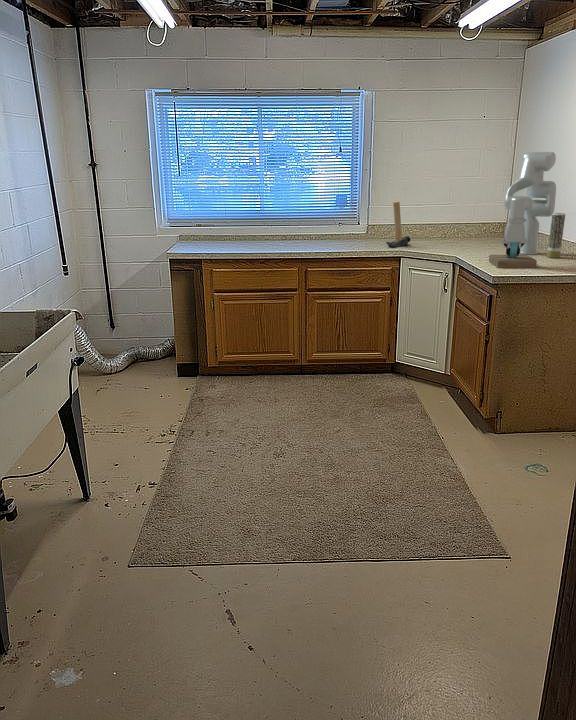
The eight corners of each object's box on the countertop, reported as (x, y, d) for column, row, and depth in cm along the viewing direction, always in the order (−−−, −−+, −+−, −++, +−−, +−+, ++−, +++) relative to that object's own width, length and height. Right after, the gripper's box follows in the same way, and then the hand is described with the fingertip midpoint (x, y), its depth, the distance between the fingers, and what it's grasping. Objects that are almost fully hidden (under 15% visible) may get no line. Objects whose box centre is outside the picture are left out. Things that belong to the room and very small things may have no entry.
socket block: (488, 261, 337) (489, 254, 336) (525, 261, 335) (525, 254, 334) (497, 267, 318) (498, 260, 317) (535, 267, 316) (536, 260, 315)
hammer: (392, 251, 393) (389, 205, 380) (386, 250, 397) (383, 205, 383) (410, 242, 405) (408, 198, 392) (404, 241, 408) (402, 197, 395)
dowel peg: (507, 257, 328) (508, 241, 325) (515, 257, 327) (517, 241, 324) (509, 259, 324) (510, 242, 321) (517, 259, 323) (519, 242, 320)
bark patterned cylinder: (560, 258, 343) (566, 214, 335) (548, 258, 344) (554, 214, 336) (558, 256, 349) (563, 213, 341) (545, 256, 350) (551, 213, 342)
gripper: (530, 220, 322) (526, 254, 328) (498, 220, 323) (495, 254, 329) (534, 221, 315) (530, 256, 321) (501, 222, 316) (498, 256, 322)
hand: (512, 255), depth 325 cm, fingers closed on dowel peg, 4 cm apart
